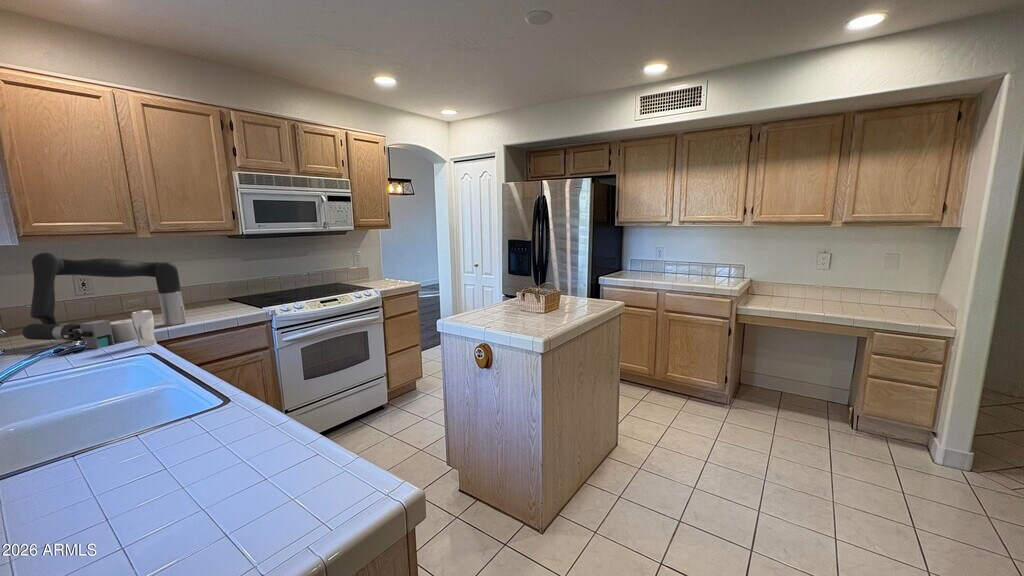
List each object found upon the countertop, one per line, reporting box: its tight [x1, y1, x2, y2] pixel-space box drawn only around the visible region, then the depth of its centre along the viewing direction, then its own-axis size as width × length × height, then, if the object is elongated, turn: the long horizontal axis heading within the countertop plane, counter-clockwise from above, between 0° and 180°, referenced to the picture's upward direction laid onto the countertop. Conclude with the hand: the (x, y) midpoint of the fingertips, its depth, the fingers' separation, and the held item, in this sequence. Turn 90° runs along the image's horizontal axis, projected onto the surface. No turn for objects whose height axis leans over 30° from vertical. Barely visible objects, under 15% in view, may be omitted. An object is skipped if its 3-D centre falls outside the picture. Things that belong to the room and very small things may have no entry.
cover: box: [79, 319, 116, 350], centre depth 180 cm, size 7×7×11 cm
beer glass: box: [131, 309, 157, 348], centre depth 180 cm, size 7×7×15 cm
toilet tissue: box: [110, 319, 138, 344], centre depth 189 cm, size 9×13×9 cm
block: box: [97, 337, 110, 349], centre depth 180 cm, size 4×4×4 cm
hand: (101, 332), depth 179 cm, fingers closed on cover, 6 cm apart
